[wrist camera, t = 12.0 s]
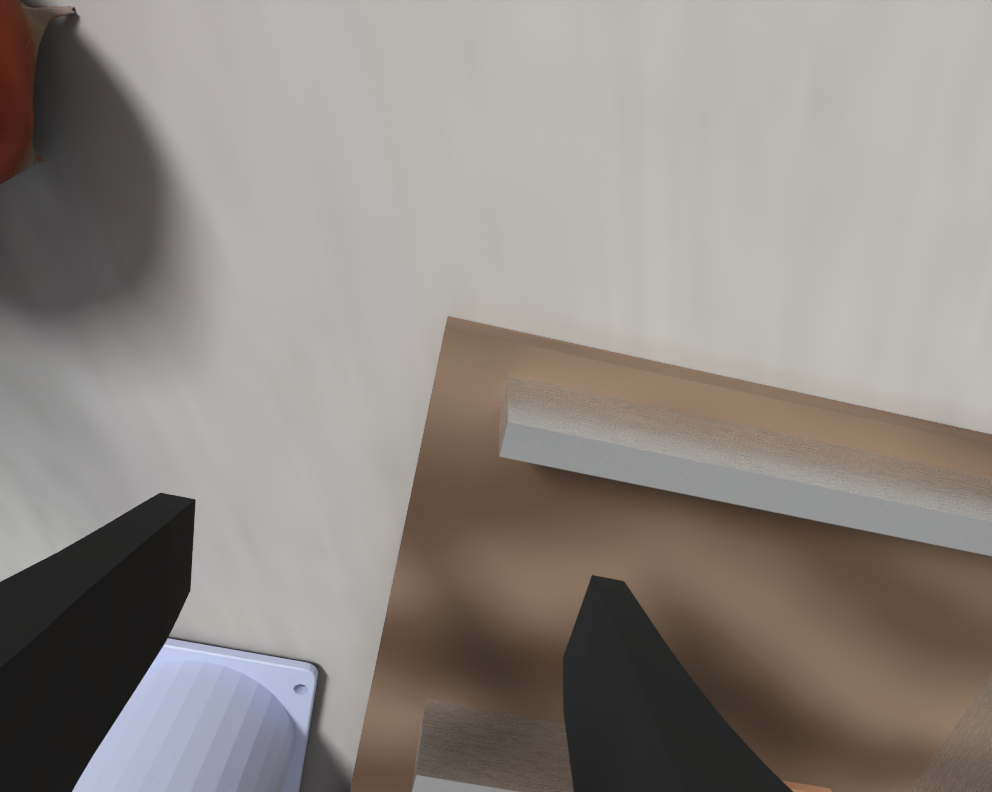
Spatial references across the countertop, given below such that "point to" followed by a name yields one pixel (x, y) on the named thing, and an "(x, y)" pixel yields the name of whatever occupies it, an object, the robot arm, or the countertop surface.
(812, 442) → the channel walls
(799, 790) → the pad
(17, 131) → the fruit
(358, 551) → the countertop surface
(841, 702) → the walnut board
